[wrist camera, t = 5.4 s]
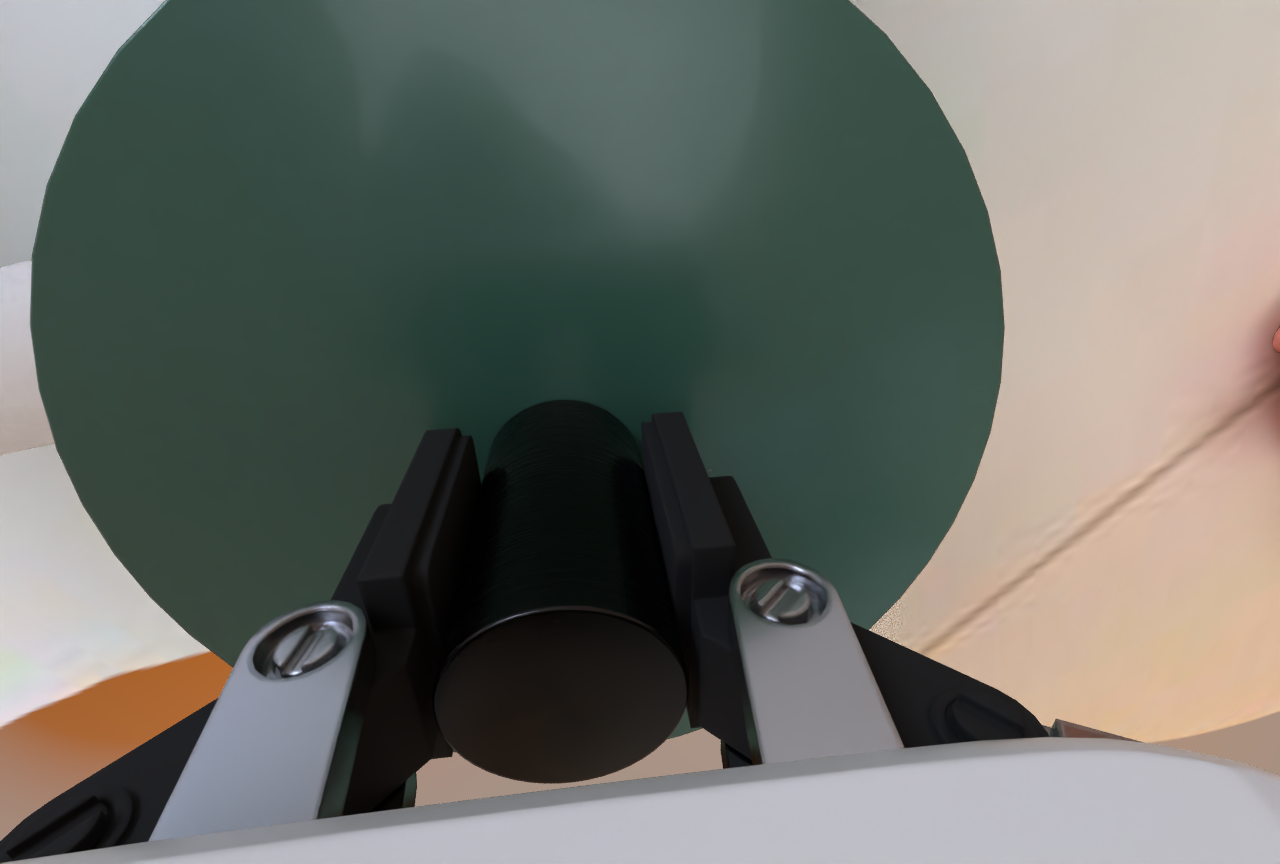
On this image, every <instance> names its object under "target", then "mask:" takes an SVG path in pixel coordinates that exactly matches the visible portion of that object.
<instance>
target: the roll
mask: <svg viewBox="0 0 1280 864" xmlns="http://www.w3.org/2000/svg"><path fill="white" fill-rule="evenodd" d="M31 269H32V260H30V261H24V262H19V263H16V264H12V265H9V266H2V267H0V455H2V454H7V453H12V452H17V451H21V450H26V449H31V448H36V447H42V446H47V445H52V444H55V442H54V439H53V436H52V432H51V429H50V426H49V422H48V419H47V416H46V412H45V409H44V406H43V402H42V399H41V396H40V392H39V388H38V381H37V374H36V366H35V359H34V352H33V344H32V337H31V330H30V302H31Z"/></svg>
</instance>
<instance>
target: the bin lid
mask: <svg viewBox="0 0 1280 864" xmlns="http://www.w3.org/2000/svg"><path fill="white" fill-rule="evenodd" d="M30 330H31V337H32V344H33V352H34V359H35V366H36V374H37V381H38V388H39V392H40V396H41V399H42V402H43V406H44V409H45V412H46V416H47V419H48V422H49V426H50V429H51V432H52V436H53V439H54V442H55V446H56V449H57V451H58V454H59V456H60V458H61V460H62V462H63V464H64V466H65V469H66V471H67V473H68V475H69V477H70V479H71V481H72V484H73V486H74V488H75V490H76V492H77V494H78V496H79V499H80V501H81V503H82V505H83V507H84V508H85V510H86V511H87V513H88V514H89V516H90V518H91V519H92V521H93V522H94V524H95V525H96V527H97V528H98V530H99V531H100V533H101V535H102V536H103V538H104V539H105V541H106V542H107V544H108V545H109V547H110V549H111V550H112V552H113V553H114V555H115V556H116V557H117V558H118V559H119V561H120V562H121V563H122V564H123V565H124V567H125V568H126V569H127V570H128V571H129V573H130V574H131V575H132V576H133V577H134V579H135V580H136V581H137V582H138V583H139V585H140V586H141V587H142V588H143V589H144V591H145V592H146V593H147V594H148V595H149V596H150V598H151V599H152V600H153V601H154V602H156V603H157V604H158V605H159V606H160V607H161V608H162V609H163V610H164V611H165V612H166V613H167V614H168V615H169V616H170V617H171V618H173V619H174V620H175V621H176V622H177V623H178V624H179V625H180V626H181V627H182V628H183V629H184V630H185V631H186V632H187V633H188V634H189V635H191V636H192V637H193V638H194V639H196V640H197V641H198V642H200V643H201V644H202V645H204V646H205V647H206V648H208V649H209V650H210V651H212V652H213V653H214V654H216V655H217V656H219V657H220V658H221V659H222V660H224V661H225V662H227V663H228V664H229V665H230V666H232V667H233V668H234V666H235V664H236V662H237V660H238V658H239V655H240V653H241V651H242V650H243V649H244V647H245V646H246V644H247V643H248V641H249V640H250V638H251V637H252V636H253V635H254V634H256V633H257V632H258V631H259V630H260V629H261V628H262V627H263V626H264V625H265V624H267V623H269V622H270V621H272V620H273V619H275V618H277V617H278V616H280V615H281V614H283V613H285V612H288V611H290V610H292V609H295V608H297V607H299V606H302V605H306V604H310V603H314V602H318V601H329V600H331V598H332V596H333V594H334V592H335V590H336V588H337V586H338V584H339V582H340V580H341V578H342V576H343V574H344V572H345V570H346V568H347V566H348V564H349V562H350V560H351V558H352V556H353V554H354V552H355V550H356V548H357V546H358V544H359V542H360V540H361V538H362V536H363V534H364V532H365V530H366V528H367V526H368V524H369V522H370V520H371V518H372V516H373V514H374V512H375V510H376V509H377V508H378V506H380V505H382V504H392V502H393V500H394V498H395V496H396V493H397V491H398V489H399V487H400V485H401V483H402V480H403V478H404V476H405V474H406V472H407V470H408V468H409V465H410V463H411V461H412V459H413V457H414V455H415V453H416V450H417V448H418V446H419V444H420V442H421V440H422V437H423V435H424V433H425V432H426V430H438V429H451V428H459V429H460V431H461V433H462V436H464V435H471V436H472V438H473V441H474V446H475V452H476V457H477V463H478V468H479V474H480V480H481V489H480V493H479V497H478V502H477V506H476V510H475V514H474V518H473V523H472V527H471V531H470V535H469V539H468V544H467V548H466V552H465V556H464V560H463V565H462V569H461V573H460V577H459V581H458V585H457V590H456V594H455V598H454V602H453V606H452V611H451V615H450V619H449V623H448V627H447V632H446V636H445V640H444V644H443V648H442V653H441V657H440V661H439V665H438V669H437V674H436V678H435V682H434V687H433V691H432V708H433V713H434V718H435V721H436V723H437V726H438V729H439V731H440V732H441V734H442V736H443V737H444V739H445V740H446V741H447V743H448V744H449V745H450V746H451V747H452V748H453V752H457V753H458V754H459V755H460V756H462V757H463V758H464V759H466V760H468V761H469V762H471V763H472V764H473V765H475V766H477V767H479V768H481V769H483V770H485V771H488V772H490V773H493V774H496V775H498V776H502V777H505V778H509V779H513V780H518V781H525V782H532V783H570V782H578V781H583V780H589V779H593V778H598V777H602V776H605V775H608V774H611V773H614V772H617V771H619V770H621V769H624V768H626V767H628V766H630V765H632V764H634V763H636V762H637V761H639V760H641V759H643V758H644V757H646V756H647V755H649V754H650V753H651V752H653V751H654V750H655V749H657V748H658V747H659V746H660V745H661V744H662V743H664V742H665V740H666V739H670V738H674V737H678V736H681V735H684V734H687V733H690V732H693V731H696V730H699V729H702V727H698V728H691V727H690V722H689V718H688V713H687V708H686V705H687V701H688V696H689V676H688V672H687V667H686V663H685V658H684V654H683V649H682V645H681V640H680V635H679V631H678V627H677V623H676V620H675V616H674V611H673V607H672V602H671V597H670V593H669V588H668V584H667V579H666V575H665V570H664V565H663V561H662V556H661V552H660V547H659V543H658V538H657V534H656V529H655V524H654V520H653V515H652V511H651V506H650V502H649V497H648V493H647V488H646V483H645V479H644V474H643V466H642V433H641V425H642V422H652V414H657V413H671V412H682V413H683V415H684V417H685V420H686V422H687V425H688V427H689V430H690V432H691V435H692V437H693V440H694V442H695V445H696V447H697V449H698V452H699V454H700V457H701V459H702V462H703V464H704V467H705V469H706V472H707V474H708V477H720V476H733V478H734V479H735V481H736V483H737V485H738V487H739V489H740V491H741V493H742V495H743V497H744V500H745V502H746V504H747V506H748V508H749V510H750V512H751V514H752V516H753V519H754V521H755V523H756V525H757V527H758V529H759V531H760V533H761V535H762V538H763V540H764V542H765V544H766V546H767V548H768V550H769V552H770V555H771V557H772V558H777V559H789V560H792V561H796V562H800V563H803V564H806V565H808V566H810V567H812V568H814V569H816V570H818V571H819V572H820V573H821V574H823V575H824V576H825V577H826V578H827V579H829V580H830V582H831V583H832V585H833V586H834V588H835V589H836V591H837V593H838V595H839V597H840V600H841V602H842V604H843V607H844V609H845V611H846V613H847V616H848V618H849V620H850V622H852V623H854V624H856V625H858V626H860V627H862V628H865V629H867V630H869V629H870V628H871V627H872V626H873V625H874V624H875V623H876V622H877V621H878V620H879V619H880V618H881V617H882V616H883V615H884V614H885V613H886V612H887V611H888V610H889V609H890V608H891V607H892V606H893V605H894V604H895V603H896V602H897V601H898V600H899V599H900V597H901V596H902V595H903V594H904V592H905V591H906V590H907V589H908V587H909V586H910V585H911V584H912V582H913V581H914V580H915V579H916V577H917V576H918V575H919V574H920V572H921V571H922V570H923V569H924V567H925V566H926V565H927V564H928V562H929V561H930V559H931V558H932V556H933V554H934V553H935V551H936V550H937V548H938V546H939V545H940V543H941V542H942V540H943V539H944V537H945V535H946V534H947V532H948V531H949V529H950V528H951V526H952V524H953V523H954V521H955V518H956V516H957V514H958V512H959V510H960V508H961V506H962V504H963V502H964V500H965V498H966V496H967V494H968V492H969V490H970V487H971V485H972V483H973V481H974V479H975V476H976V473H977V470H978V467H979V464H980V461H981V458H982V455H983V453H984V450H985V447H986V444H987V441H988V438H989V435H990V432H991V427H992V422H993V417H994V412H995V407H996V402H997V398H998V393H999V388H1000V383H1001V371H1002V356H1003V342H1004V313H1003V299H1002V284H1001V270H1000V266H999V261H998V256H997V252H996V247H995V243H994V238H993V233H992V229H991V224H990V219H989V215H988V211H987V208H986V205H985V203H984V200H983V197H982V195H981V192H980V190H979V187H978V184H977V182H976V179H975V176H974V174H973V171H972V168H971V166H970V163H969V161H968V158H967V155H966V153H965V150H964V149H963V147H962V145H961V143H960V142H959V140H958V138H957V136H956V134H955V133H954V131H953V129H952V127H951V126H950V124H949V122H948V120H947V119H946V117H945V115H944V113H943V111H942V110H941V108H940V106H939V104H938V103H937V101H936V99H935V97H934V96H933V94H932V92H931V91H930V89H929V88H928V87H927V86H926V84H925V83H924V82H923V80H922V79H921V78H920V77H919V75H918V74H917V73H916V72H915V70H914V69H913V68H912V67H911V65H910V64H909V63H908V62H907V60H906V59H905V58H904V56H903V55H902V54H901V53H900V51H899V50H898V49H897V48H896V46H895V45H894V44H893V43H892V41H891V40H890V39H889V38H888V36H887V35H886V34H885V33H884V32H883V31H882V30H881V29H880V28H879V27H878V26H876V25H875V24H874V23H873V22H872V21H871V20H870V19H869V18H868V17H867V16H866V15H865V14H863V13H862V12H861V11H860V10H859V9H858V8H857V7H856V6H855V5H854V4H853V3H851V2H850V1H849V0H165V1H164V2H163V3H162V4H161V6H160V7H159V8H158V9H157V10H156V11H155V12H154V13H153V14H152V15H151V16H150V17H149V18H148V19H147V20H146V21H145V22H144V23H143V24H142V25H141V26H140V27H139V28H138V30H137V31H136V32H135V33H134V34H133V35H132V36H131V37H130V38H129V39H128V40H127V41H126V42H125V43H124V44H123V45H122V46H121V47H120V48H119V49H118V51H117V52H116V54H115V55H114V57H113V58H112V60H111V61H110V63H109V65H108V66H107V68H106V69H105V71H104V72H103V74H102V75H101V77H100V78H99V80H98V82H97V83H96V85H95V86H94V88H93V89H92V91H91V92H90V94H89V95H88V97H87V98H86V100H85V102H84V103H83V105H82V106H81V108H80V109H79V111H78V112H77V114H76V115H75V118H74V120H73V122H72V125H71V127H70V130H69V132H68V135H67V137H66V140H65V142H64V144H63V147H62V149H61V152H60V154H59V157H58V159H57V161H56V164H55V166H54V169H53V171H52V174H51V176H50V179H49V181H48V183H47V186H46V191H45V196H44V200H43V205H42V210H41V215H40V220H39V224H38V229H37V234H36V239H35V243H34V248H33V253H32V269H31V302H30Z"/></svg>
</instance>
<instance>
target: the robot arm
mask: <svg viewBox="0 0 1280 864" xmlns="http://www.w3.org/2000/svg"><path fill="white" fill-rule="evenodd" d="M641 433H642V466H643V474H644V479H645V483H646V488H647V493H648V497H649V502H650V506H651V511H652V515H653V520H654V524H655V529H656V534H657V538H658V543H659V547H660V552H661V556H662V561H663V565H664V570H665V575H666V579H667V584H668V588H669V593H670V597H671V602H672V607H673V611H674V616H675V620H676V623H677V627H678V631H679V635H680V640H681V645H682V649H683V654H684V658H685V663H686V667H687V672H688V676H689V696H688V701H687V705H686V708H687V713H688V718H689V722H690V727H691V728H698V727H702V728H704V729H705V730H707V731H708V732H710V733H711V734H713V735H714V736H716V737H717V738H719V739H721V755H722V763H723V769H719V770H711V771H702V772H693V773H685V774H676V775H668V776H660V777H651V778H643V779H636V780H628V781H619V782H611V783H603V784H594V785H587V786H578V787H570V788H562V789H554V790H546V791H538V792H530V793H522V794H514V795H506V796H498V797H490V798H482V799H474V800H466V801H458V802H451V803H443V804H434V805H426V806H418V807H414V806H415V798H416V789H417V781H416V780H417V779H416V771H418V770H419V769H420V768H421V767H422V766H423V765H425V764H426V763H427V762H428V761H429V760H430V759H435V758H445V757H452V754H453V748H452V747H451V746H450V745H449V744H448V743H447V741H446V740H445V739H444V737H443V736H442V734H441V732H440V731H439V729H438V726H437V723H436V721H435V718H434V713H433V708H432V691H433V687H434V682H435V678H436V674H437V669H438V665H439V661H440V657H441V653H442V648H443V644H444V640H445V636H446V632H447V627H448V623H449V619H450V615H451V611H452V606H453V602H454V598H455V594H456V590H457V585H458V581H459V577H460V573H461V569H462V565H463V560H464V556H465V552H466V548H467V544H468V539H469V535H470V531H471V527H472V523H473V518H474V514H475V510H476V506H477V502H478V497H479V493H480V489H481V480H480V474H479V468H478V463H477V457H476V452H475V446H474V441H473V438H472V436H471V435H464V436H462V433H461V431H460V429H459V428H451V429H438V430H426V432H425V433H424V435H423V437H422V440H421V442H420V444H419V446H418V448H417V450H416V453H415V455H414V457H413V459H412V461H411V463H410V465H409V468H408V470H407V472H406V474H405V476H404V478H403V480H402V483H401V485H400V487H399V489H398V491H397V493H396V496H395V498H394V500H393V502H392V504H382V505H380V506H378V508H377V509H376V510H375V512H374V514H373V516H372V518H371V520H370V522H369V524H368V526H367V528H366V530H365V532H364V534H363V536H362V538H361V540H360V542H359V544H358V546H357V548H356V550H355V552H354V554H353V556H352V558H351V560H350V562H349V564H348V566H347V568H346V570H345V572H344V574H343V576H342V578H341V580H340V582H339V584H338V586H337V588H336V590H335V592H334V594H333V596H332V598H331V600H329V601H318V602H314V603H310V604H306V605H302V606H299V607H297V608H295V609H292V610H290V611H288V612H285V613H283V614H281V615H280V616H278V617H277V618H275V619H273V620H272V621H270V622H269V623H267V624H265V625H264V626H263V627H262V628H261V629H260V630H259V631H258V632H257V633H256V634H254V635H253V636H252V637H251V638H250V640H249V641H248V643H247V644H246V646H245V647H244V649H243V650H242V651H241V653H240V655H239V658H238V660H237V662H236V664H235V666H234V668H233V670H232V672H231V674H230V676H229V678H228V680H227V682H226V684H225V686H224V688H223V690H222V692H221V694H220V696H219V698H217V699H216V700H214V701H212V702H211V703H209V704H208V705H206V706H204V707H203V708H201V709H199V710H198V711H196V712H194V713H193V714H191V715H190V716H188V717H186V718H185V719H183V720H181V721H180V722H178V723H176V724H175V725H173V726H172V727H170V728H168V729H167V730H165V731H163V732H162V733H160V734H159V735H157V736H155V737H154V738H152V739H150V740H149V741H147V742H145V743H144V744H142V745H141V746H139V747H137V748H136V749H134V750H132V751H131V752H129V753H127V754H126V755H124V756H123V757H121V758H119V759H118V760H116V761H114V762H113V763H111V764H109V765H108V766H106V767H105V768H103V769H101V770H100V771H98V772H96V773H95V774H93V775H92V776H90V777H88V778H87V779H85V780H83V781H82V782H80V783H78V784H77V785H75V786H74V787H72V788H70V789H69V790H67V791H65V792H64V793H62V794H61V795H59V796H57V797H56V798H54V799H53V800H51V801H50V802H48V803H47V804H45V805H44V806H42V807H41V808H40V809H38V810H37V811H35V812H34V813H32V814H31V815H30V816H28V817H27V818H25V819H24V820H23V821H22V822H21V823H20V824H19V825H18V826H16V827H15V828H14V829H13V830H12V831H11V832H10V833H9V834H8V835H7V836H6V837H5V838H4V839H3V840H1V841H0V864H1280V775H1278V774H1275V773H1273V772H1270V771H1267V770H1264V769H1260V768H1257V767H1254V766H1251V765H1247V764H1244V763H1241V762H1237V761H1234V760H1230V759H1226V758H1221V757H1216V756H1212V755H1207V754H1202V753H1198V752H1193V751H1188V750H1184V749H1180V748H1175V747H1170V746H1165V745H1159V744H1150V743H1144V742H1140V741H1136V740H1133V739H1129V738H1125V737H1122V736H1118V735H1114V734H1111V733H1107V732H1103V731H1099V730H1096V729H1092V728H1088V727H1085V726H1081V725H1077V724H1074V723H1070V722H1066V721H1063V720H1059V719H1055V722H1054V724H1053V726H1052V728H1051V727H1047V726H1044V725H1041V723H1040V722H1039V721H1038V720H1037V718H1036V717H1035V716H1034V715H1033V714H1032V713H1031V712H1029V711H1028V710H1027V709H1026V708H1025V707H1023V706H1022V705H1021V704H1020V703H1019V702H1018V701H1016V700H1015V699H1013V698H1011V697H1009V696H1008V695H1006V694H1004V693H1002V692H1001V691H999V690H997V689H995V688H993V687H991V686H989V685H986V684H984V683H982V682H980V681H978V680H975V679H973V678H971V677H969V676H967V675H965V674H962V673H960V672H958V671H956V670H954V669H952V668H949V667H947V666H945V665H943V664H941V663H939V662H936V661H934V660H932V659H930V658H928V657H925V656H923V655H921V654H919V653H917V652H915V651H912V650H910V649H908V648H906V647H904V646H902V645H899V644H897V643H895V642H893V641H891V640H889V639H886V638H884V637H882V636H880V635H878V634H875V633H873V632H871V631H869V630H867V629H865V628H862V627H860V626H858V625H856V624H854V623H852V622H850V620H849V618H848V616H847V613H846V611H845V609H844V607H843V604H842V602H841V600H840V597H839V595H838V593H837V591H836V589H835V588H834V586H833V585H832V583H831V582H830V580H829V579H827V578H826V577H825V576H824V575H823V574H821V573H820V572H819V571H818V570H816V569H814V568H812V567H810V566H808V565H806V564H803V563H800V562H796V561H792V560H789V559H777V558H772V557H771V555H770V552H769V550H768V548H767V546H766V544H765V542H764V540H763V538H762V535H761V533H760V531H759V529H758V527H757V525H756V523H755V521H754V519H753V516H752V514H751V512H750V510H749V508H748V506H747V504H746V502H745V500H744V497H743V495H742V493H741V491H740V489H739V487H738V485H737V483H736V481H735V479H734V478H733V476H720V477H708V474H707V472H706V469H705V467H704V464H703V462H702V459H701V457H700V454H699V452H698V449H697V447H696V445H695V442H694V440H693V437H692V435H691V432H690V430H689V427H688V425H687V422H686V420H685V417H684V415H683V413H682V412H671V413H657V414H652V422H642V425H641Z"/></svg>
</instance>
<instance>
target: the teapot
mask: <svg viewBox="0 0 1280 864" xmlns="http://www.w3.org/2000/svg"><path fill="white" fill-rule="evenodd" d="M1273 346H1274V349H1275V350H1276V351H1278V352H1280V327H1279V329H1278V330H1277V332H1276V333H1275V336H1274V339H1273Z"/></svg>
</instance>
